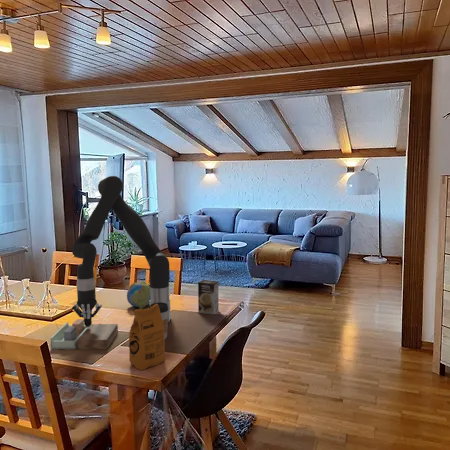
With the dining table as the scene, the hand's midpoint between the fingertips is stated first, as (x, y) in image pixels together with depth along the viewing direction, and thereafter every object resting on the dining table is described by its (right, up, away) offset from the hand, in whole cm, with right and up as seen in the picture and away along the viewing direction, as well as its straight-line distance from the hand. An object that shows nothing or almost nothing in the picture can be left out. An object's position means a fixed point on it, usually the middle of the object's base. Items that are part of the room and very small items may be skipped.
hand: (88, 326), depth 188 cm
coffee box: (+52, -1, +32) cm, 61 cm away
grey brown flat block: (+6, -6, -3) cm, 9 cm away
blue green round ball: (+16, 0, +42) cm, 45 cm away
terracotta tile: (-3, -1, +1) cm, 4 cm away
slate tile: (-4, -2, -8) cm, 9 cm away
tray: (-6, -6, -3) cm, 9 cm away
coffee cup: (+32, -5, -1) cm, 32 cm away
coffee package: (+31, -8, -25) cm, 41 cm away
